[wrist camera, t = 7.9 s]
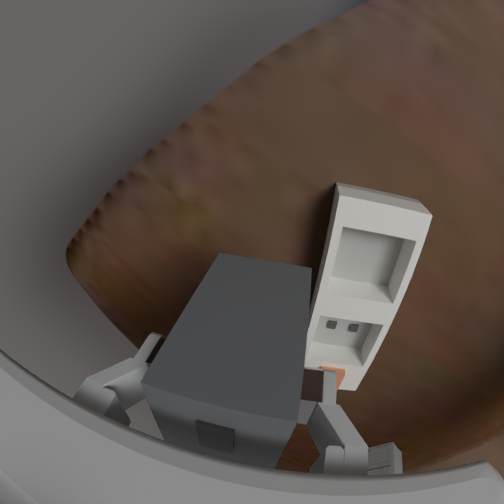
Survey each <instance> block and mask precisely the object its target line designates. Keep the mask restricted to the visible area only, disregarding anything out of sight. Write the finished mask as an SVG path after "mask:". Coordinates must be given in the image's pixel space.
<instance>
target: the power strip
mask: <svg viewBox="0 0 504 504" xmlns="http://www.w3.org/2000/svg"><path fill="white" fill-rule="evenodd" d="M431 219H432V214H431V213H430V212H429V211H428V210H427V209H426V208H425V207H424V206H423V205H422V204H421V203H420V202H419V201H418V200H416V199H412V198H408V197H404V196H400V195H395V194H391V193H387V192H382V191H378V190H373V189H368V188H363V187H358V186H353V185H348V184H343V183H338V182H336V187H335V193H334V198H333V204H332V209H331V215H330V220H329V225H328V230H327V235H326V240H325V244H324V249H323V254H322V258H321V263H320V267H319V272H318V276H317V280H316V284H315V289H314V293H313V297H312V301H311V305H310V309H309V320H308V332H307V343H306V354H305V364H304V366H305V367H312V368H320V369H325V370H333V371H336V392H337V390H338V389H343V390H353V391H355V390H356V389H357V387H358V385H359V384H360V382H361V380H362V379H363V377H364V375H365V373H366V372H367V370H368V368H369V366H370V364H371V363H372V361H373V359H374V357H375V355H376V353H377V351H378V349H379V347H380V346H381V344H382V342H383V340H384V338H385V336H386V334H387V331H388V329H389V327H390V325H391V323H392V321H393V319H394V317H395V315H396V312H397V310H398V308H399V306H400V303H401V301H402V299H403V296H404V294H405V292H406V289H407V287H408V284H409V282H410V279H411V277H412V274H413V272H414V269H415V266H416V264H417V261H418V258H419V255H420V253H421V250H422V247H423V244H424V241H425V238H426V235H427V232H428V229H429V225H430V222H431Z"/></svg>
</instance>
